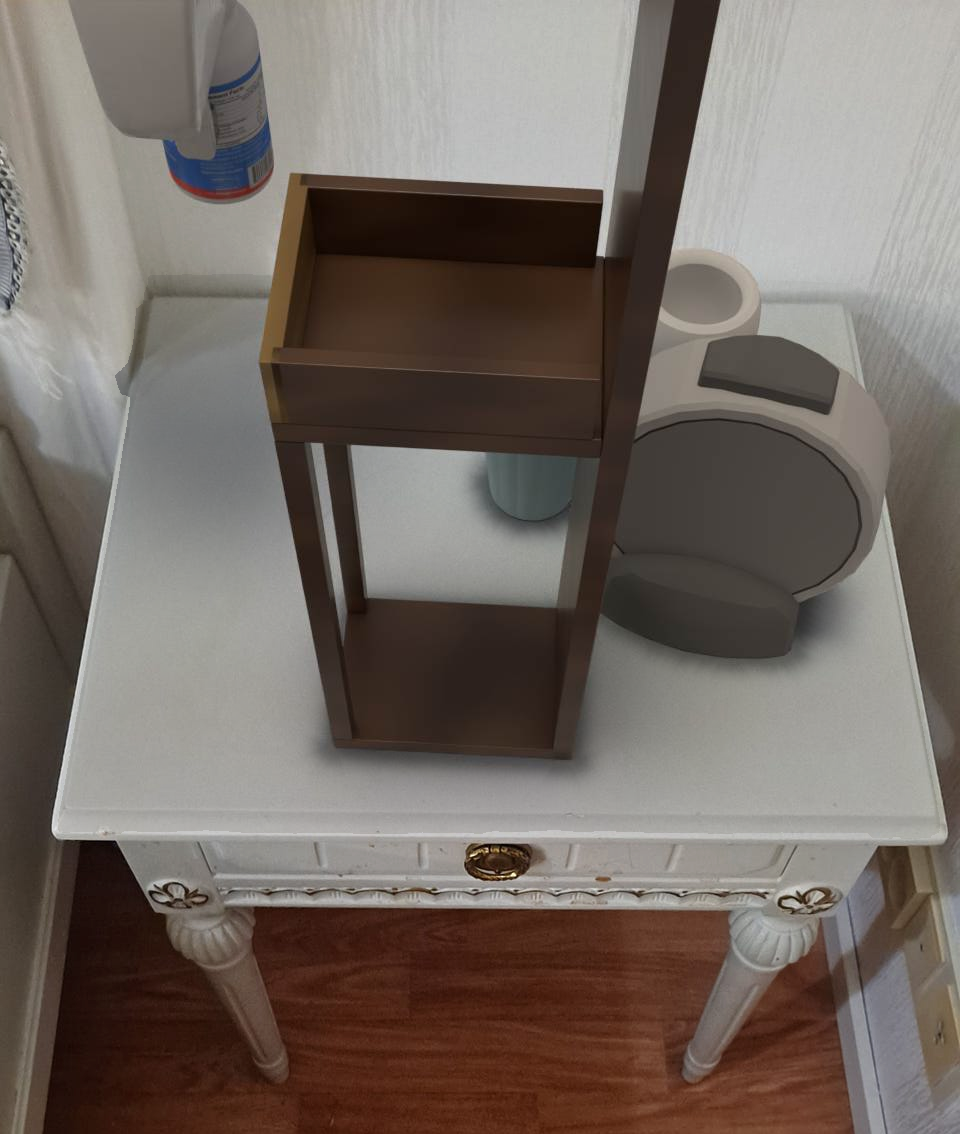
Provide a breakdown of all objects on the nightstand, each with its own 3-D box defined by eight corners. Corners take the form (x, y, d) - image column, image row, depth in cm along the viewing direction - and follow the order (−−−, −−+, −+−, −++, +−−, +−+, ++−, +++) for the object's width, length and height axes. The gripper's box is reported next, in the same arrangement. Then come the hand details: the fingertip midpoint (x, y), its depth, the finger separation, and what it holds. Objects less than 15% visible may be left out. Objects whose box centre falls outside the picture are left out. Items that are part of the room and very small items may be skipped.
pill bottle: (158, 149, 61) (111, -60, 52) (258, 128, 62) (228, -81, 53) (185, 219, 59) (141, 14, 50) (288, 196, 60) (263, -9, 51)
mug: (611, 338, 82) (626, 240, 75) (731, 336, 82) (757, 238, 75) (627, 473, 77) (646, 382, 70) (754, 471, 78) (785, 380, 70)
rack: (333, 747, 69) (180, -32, 30) (349, 605, 73) (232, -243, 34) (571, 760, 69) (721, -3, 30) (574, 617, 73) (710, -218, 34)
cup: (614, 501, 76) (635, 378, 67) (518, 554, 74) (526, 436, 65) (546, 426, 79) (558, 297, 69) (451, 476, 77) (450, 350, 67)
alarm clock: (839, 551, 75) (951, 320, 58) (814, 682, 71) (926, 475, 54) (595, 494, 76) (636, 252, 60) (558, 619, 73) (589, 398, 56)
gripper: (111, -398, 48) (178, -32, 61) (6, -109, 40) (108, 244, 53) (263, -386, 48) (299, -24, 61) (189, -96, 40) (248, 253, 53)
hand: (210, 103), depth 57 cm, fingers closed on pill bottle, 5 cm apart
